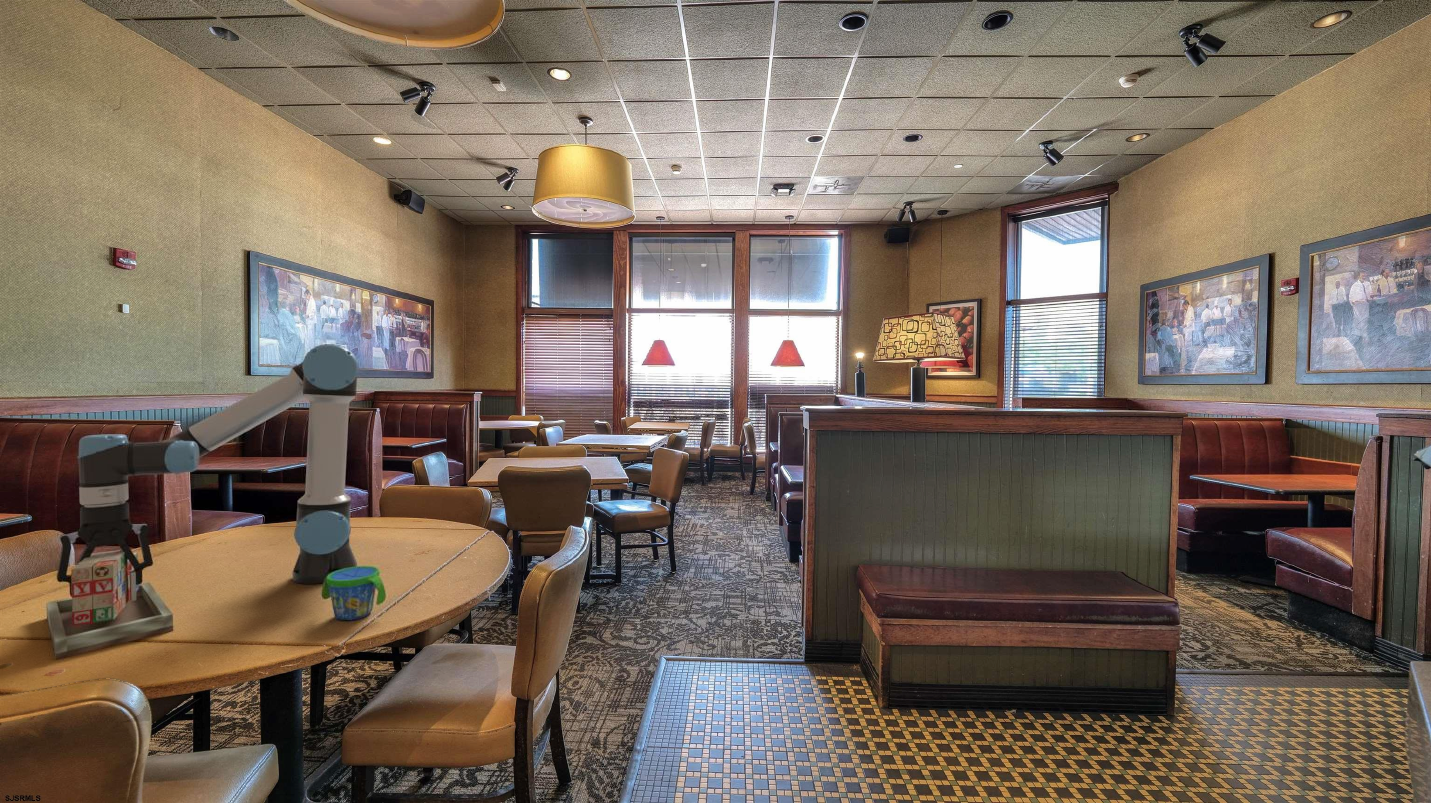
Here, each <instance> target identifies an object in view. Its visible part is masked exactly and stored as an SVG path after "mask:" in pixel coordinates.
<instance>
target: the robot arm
mask: <svg viewBox="0 0 1431 803" xmlns="http://www.w3.org/2000/svg"><path fill="white" fill-rule="evenodd" d="M302 360H303V361H302V362H301V363H299V364H296V365H295V366H293V367H291V368H290V372H289V373H288V374H286V375H285V376H283V377H281V378H279V379H277V380H276V381H274V382H272V383H270V384H268V385H266V386H264V387H262V388H261V389H258V390H257V391H255V392H253V393H252V394H251V393H250V395H247V396H245V397H243V398H242V399H240V400H238V401H236V402H234V403H232V404H231V405H229V406H227V407H226V408H223V409H221V410H219V411H217V412H216V413H213V414H212V415H210V416H208V417H207V418H204V419H203V420H201V421H199V422H198V423H195V424H192V425H191V426H189V427H188V428H186V429H183V430H182V431H180V432H178V433H176V434H175V435H173V436H171V437H169V438H167V439H164V440H161V441H149V442H148V441H147V442H146V441H145V442H130V440H128V436H127V435H126V434H123V433H122V434H120V433H117V434H115V433H114V434H113V433H112V434H111V433H108V434H106V433H105V434H91V435H86V436H83V437H81V438H80V439H79V442H78V456H77V459H78V474H79V475H78V476H79V478H78V479H79V488H78V490H79V504H80V505H81V507H80V509H79V518H80V519H79V520H80V521H79V522H80V524H79V525H80V526H79V527H78V530H76V531H75V532H71V533H68V534H65V533H62V534H61V535H59V541H60V543H61V551H60V557H59V562H58V567H57V574H56V580H57V582H58V583H68V584H69V585H68V586H69V597H70V598H72V592H71V584H72V581H71V574H67V573H68V567H69V562H70V557H71V553H72V545H73V544H75V542H76V539H78V538H81V539H82V540H83V541H85V542H86V544H85V545H84V548H83V550H82V553H81V554H80V556H79V557H78V559H77V562H76V564H75V566H76V565H77V564H78V563H80V562H81V561H82V560H83V559H84V558H89V557H90V556H91V554H92V553H94V551H95V549H96V548H98V547H104V546H107V545H109V546H110V545H111V546H113V545H118V547H119V548H120V550H122V551H123V552H125V555H126V557H127V559H128V560H129V562H130V563H131V565H132V566H133V568H134V570H130V571H129V583H130V599H131V601H135V600H136V585H138V584H143V570H144V569H146V568H148V567H151V566H153V564H154V561H153V557H152V553H151V547H150V543H149V539H148V532H149V528H150V527H149V525H148V524H147V523H140V524H137V523H136V524H133V523H132V522H131V520H130V504H129V502H127V501H128V500H129V499H130V498H129V494H130V493H129V476H132V477H133V476H134V477H135V476H143V475H144V476H146V475H150V476H151V475H165V474H168V475H169V474H175V475H178V474H182V473H183V474H185V473H192V472H195V471H197V469H198V468H199V464H200V458H202V457H203V456H205V455H207V454H208V453H210V452H212V451H214V450H216V449H218V448H219V447H221V446H223V445H224V444H226V443H228V442H230V441H232V440H234V439H235V438H238V437H239V436H241V435H242V434H244V433H246V432H248V431H251V430H252V429H253V428H256V426H259V425H260V424H263V423H264V422H266V421H267V420H270V419H272V418H273V417H275V416H277V415H279V414H280V413H282V412H285V411H286V410H288V409H290V408H291V407H293V406H296V405H297V404H298V403H300V402H302V401H304V400H306V399H307V401H308V402H309V409H308V428H307V450H306V469H305V471H306V473H305V489H304V490H305V491H304V492H305V493H304V494H303V496H301V497H300V498H299V499H298V500H297V509H296V526H295V528H294V531H293V532H294V533H293V537H294V540H295V542H296V545H297V546H298V547H299V553H298V556H297V559H296V562H295V565H294V567H293V569H292V581H293V583H296V584H300V585H301V584H303V585H314V584H323V583H324V580H325V578H326V577H327V576H328V575H329V574H330V573H332V572H335V571H337V570H341V569H344V568H350V567H357V566H358V563H357V560H356V557H355V555H354V552H353V550H352V548H351V545H350V535H351V531H352V530H351V529H352V527H351V506H352V498H351V496H349V495H348V494H347V493H346V473H347V472H346V470H347V454H348V453H347V451H348V433H349V432H348V431H349V413H350V412H349V411H350V403H351V402H352V401H353V400H354V399H355V398H357V387H358V386H357V385H358V374H359V370H360V369H359V368H360V367H359V362H358V359H357V357H356V355H355V354H354V353H353V352H352V351H351V350H350V349H348V348H347V347H346V346H343V345H341V344H335V343H324V344H319V345H316V346H314V347H313V348H311V349H310V350H309V351H308V352H307V353H306V355H305V356H304V358H303V359H302ZM132 530H133V531H134V533H135V534H136V535H137V538H138V541H139V546H140V550H141V554H142V559H143V561H142V562H139V559H138V560H137V559H136V557H135V555H134V554H133V553H134V552H133V551H132V549H131V548H130V546H129V545H128V544H127V541H126V540H125V537H127V535H128V533H130V531H132Z"/></svg>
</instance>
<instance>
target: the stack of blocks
mask: <svg viewBox="0 0 1431 803" xmlns="http://www.w3.org/2000/svg"><path fill="white" fill-rule="evenodd" d="M133 554H134V555H135V557H136V559H137V560H138V561H139V559H138V552H133ZM76 564H77V563H76ZM76 564H75V565H74V566H73V567H72V568H71V569H70V575H71V581H72V584H71V592H72V597H71V598H72V626H77V625H83V624H90V623H95V622H102V621H108V620H114V618H115V617H116V616H117V615H118V614H119V613H120V612H121V611H122V609H123V608H124V607H125V606H126V604H127V603H128V601H129V600H130V583H129V571H130V570H134V568H133V566H132V565H131V563H130V562H129V560H128V559H127V557H126V555H125V552H123V551H122V549H120V550H119V549H118V550H111V551H101V552H92V554H91V556H90V557H89V558H84V559H83V560H82V561H81V562H80V563H78V564H77V565H76ZM138 589H139V584H138V585H136V592H137V590H138Z"/></svg>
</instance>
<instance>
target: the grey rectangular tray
mask: <svg viewBox="0 0 1431 803" xmlns="http://www.w3.org/2000/svg"><path fill="white" fill-rule="evenodd" d="M45 603H46V619H47V626H48V630H50V631H49V635H50V640H51V644H52V649H53V652H54V658H55V660H60V659H64V657H65V658H68V656H69V657H71V656H70V655H73V656H76V655H80V654H85V653H87V652H88V653H89V652H93V651H98V650H100V649H104V648H108V647H112V646H113V647H114V646H117V645H120V644H121V645H122V644H125V643H129V642H134V641H137V640H140V639H145V638H149V637H154V636H157V635H162V634H165V633H168V632H172V631H174V616H173V615H174V614H173V613H172V611H171V610H170V608H169V607H168V606H167V604H166V603H165V601H164V600H163V599H162V598H161V596H160V595H159V594H158V592H157V591H156V589H155V588H154V587H153V585H152V584H151V583H150V582H145V583H142V584H139V589H138V590H137V592H136V600H135V601H131V599H130V600H129V601H128V603H127V604H126V606H125V607H124V608H123V609H122V611H121V612H120V613H119V614H118V615H117V616H116V617H115V618H114V620H108V621H102V622H95V623H90V624H83V625H77V626H72V597H67V598H62V599H57V600H52V601H47V602H45Z"/></svg>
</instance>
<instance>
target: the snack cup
mask: <svg viewBox="0 0 1431 803" xmlns="http://www.w3.org/2000/svg"><path fill="white" fill-rule="evenodd" d="M321 588H322V589H321V598H322V599H323V600H328V599H330V600H331V606H332V609H333V615H334V619H335V620H340V621H346V620H347V621H353V620H358V619H361V618H364V617H367V616H369V615H370V614H371V612H372V611H373V608H374V602H375V595H376V590H377V597H376V602H375V605H377V606H380V605H381V604H383V603H384V602H385V600H386V597H387V594H386V590H385V589H386V588H385V585H384V582H383V580H382V578H381V577H380V569H379V568H378V567H376V566H369V565H359V566H358V565H357V567H350V568H344V569H341V570H337V571H335V572H332V573H330V574H329V575H328V576H327V577H326V578H325V580H324V583H322V587H321Z"/></svg>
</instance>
